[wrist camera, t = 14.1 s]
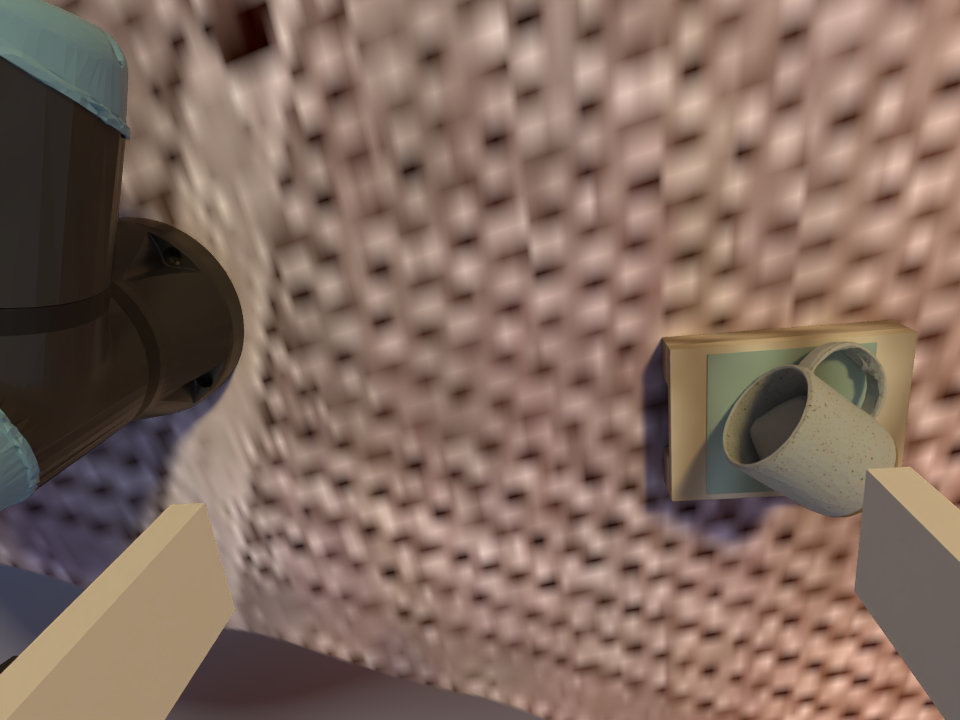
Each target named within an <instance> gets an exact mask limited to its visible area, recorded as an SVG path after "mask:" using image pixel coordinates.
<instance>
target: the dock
mask: <svg viewBox="0 0 960 720" xmlns="http://www.w3.org/2000/svg"><path fill="white" fill-rule="evenodd" d="M916 339H917V332H916V331H914V330H912V329H910V328H908V327H906V326H904V325H902V324H900V323H898V322H896V321H894V320H886V321H873V322H860V323H847V324H834V325H821V326H808V327H795V328H781V329H768V330H755V331H742V332H729V333H716V334H703V335H690V336H676V337H663V338H662V362H663V377H664V379H665V381H666V383H667V385H668V427H669V447H664V481H665V484H666V487H667V489H668V492H669V495H670V497H671V500H672V501H690V500H711V499H732V498H753V497H774V496H784V495H783V494H781V493H779V492H777V491H775V490H773V489H772V488H770V487H768V486H766V485H764V484H763V483H761V482H759V481H758V480H756V479H754V478H752V477H751V476H749V475H747V474H746V473H744V472H742V471H740V470H738V469H736V468H735V467H733V466H732V465H731V464H730V462H729V461H728V459H727V458H726V456H725V454H724V451H723V446H722V437H723V430H724V426H725V424H726V421H727V419H728V416H729V413H730V411H731V410H732V408H733V406H734V405H735V403H736V402H737V401H738V399H739V397H740V396H741V395H742V394H743V393H744V391H745V390H746V389H747V388H748V387H749V386H750V385H751V384H752V383H753V382H754V381H756V380H757V379H758V378H759V377H761V376H762V375H763V374H765V373H766V372H768V371H770V370H772V369H774V368H776V367H780V366H782V365H791V364H793V365H799V363H800V362H801V361H802V360H803V359H804V358H805V357H806V356H807V355H808V354H809V353H810V352H811V351H812V350H813V349H815V348H816V347H818V346H820V345H823V344H826V343H830V342H843V341H846V342H855V343H858V344H860V345H862V346H864V347H865V348H867V349H868V350H869V351H870V352H872V353H873V354H874V355H875V356H876V358H877V359H878V360H879V361H880V363H881V365H882V366H883V369H884V372H885V375H886V379H887V393H886V399H885V402H884V404H883V408H882V410H881V412H880V414H879V415H878V417H877V418H876V420H877V421H878V422H879V423H880V424H881V425H882V426H883V427H884V428H885V429H886V430H887V431H888V432H889V434H890V435H891V437H892V438H893V440H894V442H895V444H896V446H897V450H898V467H902V458H903V450H904V441H905V433H906V424H907V416H908V407H909V399H910V390H911V381H912V373H913V364H914V356H915V347H916ZM814 375H816V376H817V377H819V378H820V379H821V380H822V381H824V382H825V383H826V384H828V385H829V386H831V387H832V388H833V389H835V390H836V391H837V392H839V393H840V394H841V395H842V396H844V397H845V398H846V399H848V400H849V401H850V402H852V403H853V404H854V405H856V406H857V407H859V408H861V407H862V404H863V402H864V399H865V394H866V390H867V381H866V375H865V373H864V372H862V371H860V369H859V366H858V365H857V364H856V363H855V362H854V361H853V360H852V359H850V358H849V357H848V356H847V355H846V354H845V353H843V352H842V351H841V350H839V351H835V352H833V353H831V354H830V355H829V356H828V357H826V358H825V359H824V360H823V361H822V362H821V363H820V364H819V365H818V366H817V367H816V369H815V371H814Z"/></svg>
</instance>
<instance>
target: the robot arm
mask: <svg viewBox="0 0 960 720" xmlns="http://www.w3.org/2000/svg"><path fill="white" fill-rule="evenodd" d="M127 91H128V67H127V62H126V59H125V56H124V54H123V52H122V50H121V49H120V47H119V46H118V44H117V43H116V42H115V40H114V39H113V38H112V37H111V36H110V35H109V34H108V33H106V32H105V31H104V30H102V29H101V28H99V27H98V26H96V25H94V24H92V23H90V22H88V21H86V20H84V19H82V18H80V17H78V16H76V15H74V14H72V13H70V12H68V11H65V10H63V9H61V8H59V7H56V6H54V5H52V4H50V3H47V2H45V1H43V0H0V511H1V510H3V509H5V508H6V507H8V506H12V505H14V504H16V503H19V502H23V501H24V500H26V499H27V498H29V497H30V496H31V495H32V494H33V493H34V492H35V490H37V489H38V488H39V487H41V486H42V485H44V484H45V483H46V482H48V481H49V480H51V479H52V478H53V477H55V476H56V475H58V474H59V473H60V472H62V471H63V470H64V469H66V468H67V467H69V466H70V465H71V464H73V463H74V462H76V461H77V460H78V459H80V458H81V457H82V456H84V455H85V454H87V453H88V452H89V451H91V450H92V449H94V448H95V447H96V446H98V445H99V444H101V443H102V442H103V441H105V440H106V439H107V438H109V437H110V436H112V435H113V434H114V433H116V432H117V431H119V430H120V429H121V428H123V427H124V426H125V425H127V424H128V423H130V422H131V421H135V420H140V419H146V418H151V417H157V416H162V415H167V414H173V413H176V412H180V411H183V410H185V409H187V408H190V407H192V406H194V405H196V404H197V403H199V402H201V401H202V400H204V399H205V398H206V397H208V396H209V395H210V394H211V393H213V392H214V391H215V390H217V389H218V388H219V387H220V386H221V385H222V384H223V383H224V382H225V381H226V380H227V379H228V377H229V376H230V375H231V373H232V372H233V370H234V368H235V366H236V364H237V362H238V359H239V357H240V353H241V350H242V345H243V337H244V324H243V315H242V310H241V306H240V302H239V299H238V296H237V293H236V291H235V289H234V286H233V284H232V282H231V280H230V279H229V277H228V275H227V274H226V272H225V271H224V269H223V268H222V266H221V265H220V264H219V262H218V261H217V260H216V259H215V258H214V256H213V255H212V254H211V253H210V252H209V251H208V250H207V249H206V248H204V247H203V246H202V245H201V244H200V243H199V242H197V241H196V240H195V239H193V238H192V237H190V236H189V235H187V234H186V233H184V232H182V231H180V230H178V229H176V228H174V227H172V226H170V225H167V224H165V223H162V222H158V221H155V220H150V219H145V218H118V215H119V204H120V193H121V183H122V172H123V161H124V151H125V140H126V139H130V128H129V127H128V126H127V125H126V114H127ZM855 593H856V594H857V595H858V597H859V598H860V600H861V601H862V602H863V604H864V605H865V607H866V608H867V610H868V611H869V612H870V614H871V615H872V617H873V618H874V619H875V621H876V622H877V624H878V625H879V626H880V628H881V629H882V631H883V632H884V634H885V635H886V636H887V638H888V639H889V641H890V642H891V643H892V645H893V646H894V648H895V649H896V651H897V652H898V653H899V655H900V656H901V658H902V659H903V660H904V662H905V663H906V665H907V666H908V668H909V669H910V670H911V672H912V673H913V675H914V676H915V677H916V679H917V680H918V682H919V683H920V685H921V686H922V687H923V689H924V690H925V692H926V693H927V694H928V696H929V697H930V699H931V700H932V701H933V703H934V704H935V706H936V707H937V709H938V710H939V711H940V713H941V714H942V716H943V717H944V718H945V720H960V510H959V509H958V508H957V507H956V506H955V505H953V504H952V503H951V502H950V501H949V500H948V499H947V498H945V497H944V496H943V495H942V494H941V493H940V492H939V491H937V490H936V489H935V488H934V487H933V486H932V485H930V484H929V483H928V482H927V481H926V480H925V479H924V478H922V477H921V476H920V475H919V474H918V473H917V472H916V471H914V470H913V469H912V468H911V467H896V468H876V469H866V478H865V488H864V498H863V509H862V519H861V529H860V539H859V550H858V560H857V570H856V580H855ZM234 611H235V608H234V605H233V601H232V598H231V594H230V590H229V587H228V583H227V580H226V576H225V573H224V569H223V565H222V562H221V558H220V555H219V551H218V548H217V544H216V540H215V537H214V533H213V530H212V526H211V523H210V519H209V516H208V512H207V508H206V505H205V503H193V504H174V505H170V506H169V507H168V508H167V509H166V510H165V511H164V512H163V513H162V514H161V515H160V516H159V517H158V518H157V519H156V520H155V521H154V522H153V523H152V524H151V525H150V526H149V527H148V528H147V529H146V530H145V531H144V532H143V533H142V534H141V535H140V536H139V537H138V538H137V539H136V540H135V541H134V542H133V543H132V544H131V545H130V546H129V547H128V548H127V549H126V550H125V551H124V552H123V553H122V554H121V555H120V556H119V557H118V558H117V559H116V560H115V561H114V562H113V563H112V564H111V565H110V566H109V567H108V568H107V569H106V570H105V571H104V572H103V573H102V574H101V575H100V576H99V577H98V578H97V579H96V580H95V581H94V582H93V583H92V584H91V585H90V586H89V587H88V588H87V589H86V590H85V591H84V592H83V593H82V594H81V595H80V596H79V597H78V598H77V599H76V600H75V601H74V602H73V603H72V604H71V605H70V606H69V607H68V608H67V609H66V610H65V611H64V612H63V613H62V614H61V615H60V616H59V617H58V618H57V619H56V620H55V621H53V622H52V623H51V624H50V626H49V627H47V628H46V629H45V630H44V631H43V632H42V634H40V635H39V636H38V637H37V638H36V640H34V641H33V642H32V643H31V644H30V645H29V646H28V647H27V648H26V649H25V650H24V652H22V653H21V654H20V655H19V656H13V657H11V658H10V659H8V660H7V661H6V662H4V663H3V664H1V665H0V720H165V718H166V717H167V715H168V714H169V712H170V710H171V709H172V707H173V706H174V704H175V703H176V701H177V699H178V698H179V696H180V695H181V693H182V692H183V690H184V689H185V687H186V685H187V684H188V682H189V681H190V679H191V678H192V676H193V675H194V673H195V671H196V670H197V668H198V667H199V665H200V664H201V662H202V661H203V659H204V658H205V656H206V654H207V653H208V651H209V650H210V648H211V647H212V645H213V643H214V642H215V640H216V639H217V637H218V636H219V633H221V631H222V629H223V628H224V626H225V625H226V623H227V622H228V620H229V619H230V617H231V615H232V614H233V612H234Z"/></svg>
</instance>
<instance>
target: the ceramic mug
mask: <svg viewBox="0 0 960 720" xmlns="http://www.w3.org/2000/svg"><path fill="white" fill-rule="evenodd" d="M839 350H841V351H842V352H843V353H845V354H846V355H847V356H848V357H849V358H850V359H852V360H853V361H854V362H855V363H856V364H857V365H858V366H859V369H860V371H862V372H864V373H865V375H866V381H867V390H866V394H865V399H864V402H863V404H862V407H861V408H859V407H857V406H856V405H854V404H853V403H852V402H850V401H849V400H848V399H846V398H845V397H844V396H842V395H841V394H840V393H839V392H837V391H836V390H835V389H833V388H832V387H831V386H829V385H828V384H826V383H825V382H824V381H822V380H821V379H820V378H819V377H817V376H816V375H814V371H815V369H816V367H817V366H818V365H819V364H820V363H821V362H822V361H823V360H824V359H825V358H826V357H828V356H829V355H830V354H831V353H833V352H835V351H839ZM886 393H887V379H886V375H885V372H884V369H883V366H882V365H881V363H880V361H879V360H878V359H877V358H876V356H875V355H874V354H873V353H872V352H870V351H869V350H868V349H867V348H865V347H864V346H862V345H860V344H858V343H855V342H846V341H843V342H830V343H826V344H823V345H820V346H818V347H816V348H815V349H813V350H812V351H811V352H810V353H809V354H808V355H807V356H806V357H805V358H804V359H803V360H802V361H801V362H800V363H799V365H793V364H791V365H782V366H780V367H776V368H774V369H772V370H770V371H768V372H766V373H765V374H763V375H762V376H761V377H759V378H758V379H757V380H756V381H754V382H753V383H752V384H751V385H750V386H749V387H748V388H747V389H746V390H745V391H744V393H743V394H742V395H741V396H740V397H739V399H738V401H737V402H736V403H735V405H734V406H733V408H732V410H731V411H730V413H729V416H728V419H727V421H726V424H725V426H724V430H723V437H722V446H723V451H724V454H725V456H726V458H727V459H728V461H729V462H730V464H731V465H732V466H733V467H735V468H736V469H738V470H740V471H742V472H744V473H746V474H747V475H749V476H751V477H752V478H754V479H756V480H758V481H759V482H761V483H763V484H764V485H766V486H768V487H770V488H772V489H773V490H775V491H777V492H779V493H781V494H783V495H784V496H786V497H788V498H789V499H791V500H792V501H794V502H796V503H797V504H799V505H801V506H803V507H805V508H807V509H809V510H811V511H814V512H817V513H820V514H822V515H826V516H830V517H849V516H852V515H855V514H858V513H861V512H862V509H863V498H864V488H865V478H866V469H876V468H896V467H898V450H897V446H896V444H895V442H894V440H893V438H892V437H891V435H890V434H889V432H888V431H887V430H886V429H885V428H884V427H883V426H882V425H881V424H880V423H879V422H878V421H877V420H876V418H877V417H878V415H879V414H880V412H881V410H882V408H883V404H884V402H885V399H886Z"/></svg>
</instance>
